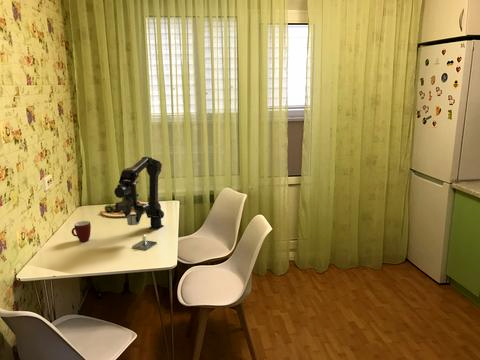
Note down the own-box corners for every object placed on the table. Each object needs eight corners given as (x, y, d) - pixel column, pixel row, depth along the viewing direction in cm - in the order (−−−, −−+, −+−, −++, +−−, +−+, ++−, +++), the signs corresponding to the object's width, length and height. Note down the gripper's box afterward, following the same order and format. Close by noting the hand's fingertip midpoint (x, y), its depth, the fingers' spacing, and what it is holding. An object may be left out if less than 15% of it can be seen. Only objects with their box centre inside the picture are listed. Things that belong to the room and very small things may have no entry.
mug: (69, 244, 210) (67, 226, 208) (75, 238, 218) (73, 221, 216) (89, 243, 210) (87, 225, 208) (94, 237, 218) (92, 220, 216)
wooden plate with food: (124, 202, 288) (123, 191, 286) (159, 206, 273) (158, 195, 272) (90, 216, 260) (89, 204, 258) (127, 221, 246) (125, 209, 244)
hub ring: (132, 221, 213) (132, 213, 212) (141, 222, 210) (141, 214, 209) (125, 224, 207) (124, 216, 206) (134, 226, 205) (133, 217, 204)
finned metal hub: (143, 241, 211) (142, 231, 209) (157, 243, 207) (156, 233, 206) (132, 247, 203) (131, 236, 201) (146, 250, 199) (145, 239, 198)
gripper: (106, 195, 202) (109, 224, 205) (135, 198, 194) (137, 228, 198) (121, 190, 212) (123, 218, 215) (149, 193, 204) (151, 222, 207)
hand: (133, 221), depth 209 cm, fingers closed on hub ring, 6 cm apart
